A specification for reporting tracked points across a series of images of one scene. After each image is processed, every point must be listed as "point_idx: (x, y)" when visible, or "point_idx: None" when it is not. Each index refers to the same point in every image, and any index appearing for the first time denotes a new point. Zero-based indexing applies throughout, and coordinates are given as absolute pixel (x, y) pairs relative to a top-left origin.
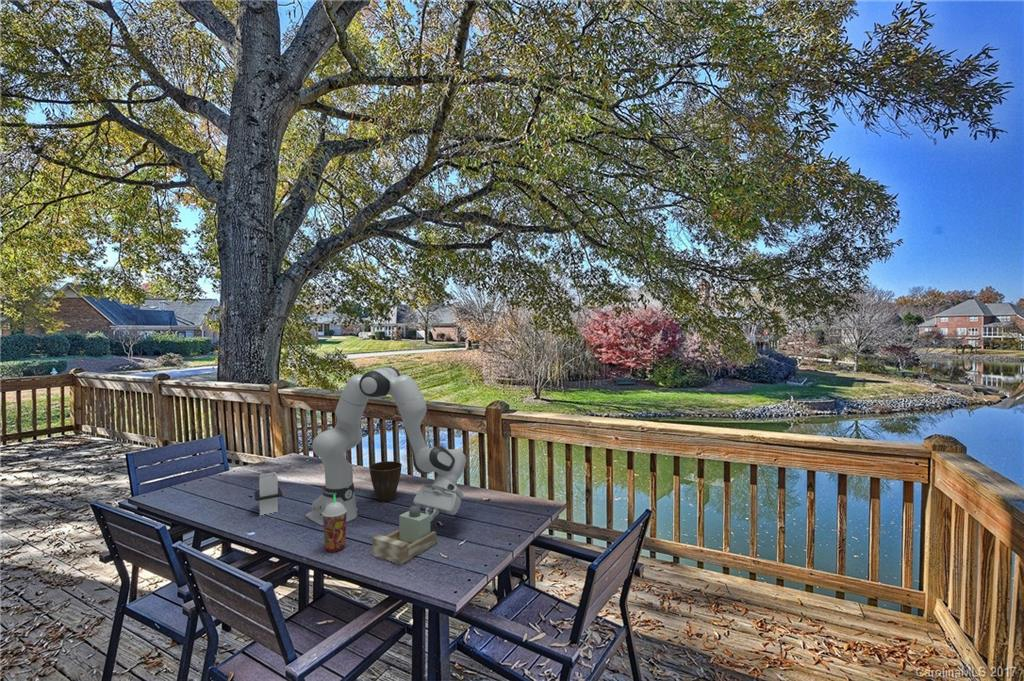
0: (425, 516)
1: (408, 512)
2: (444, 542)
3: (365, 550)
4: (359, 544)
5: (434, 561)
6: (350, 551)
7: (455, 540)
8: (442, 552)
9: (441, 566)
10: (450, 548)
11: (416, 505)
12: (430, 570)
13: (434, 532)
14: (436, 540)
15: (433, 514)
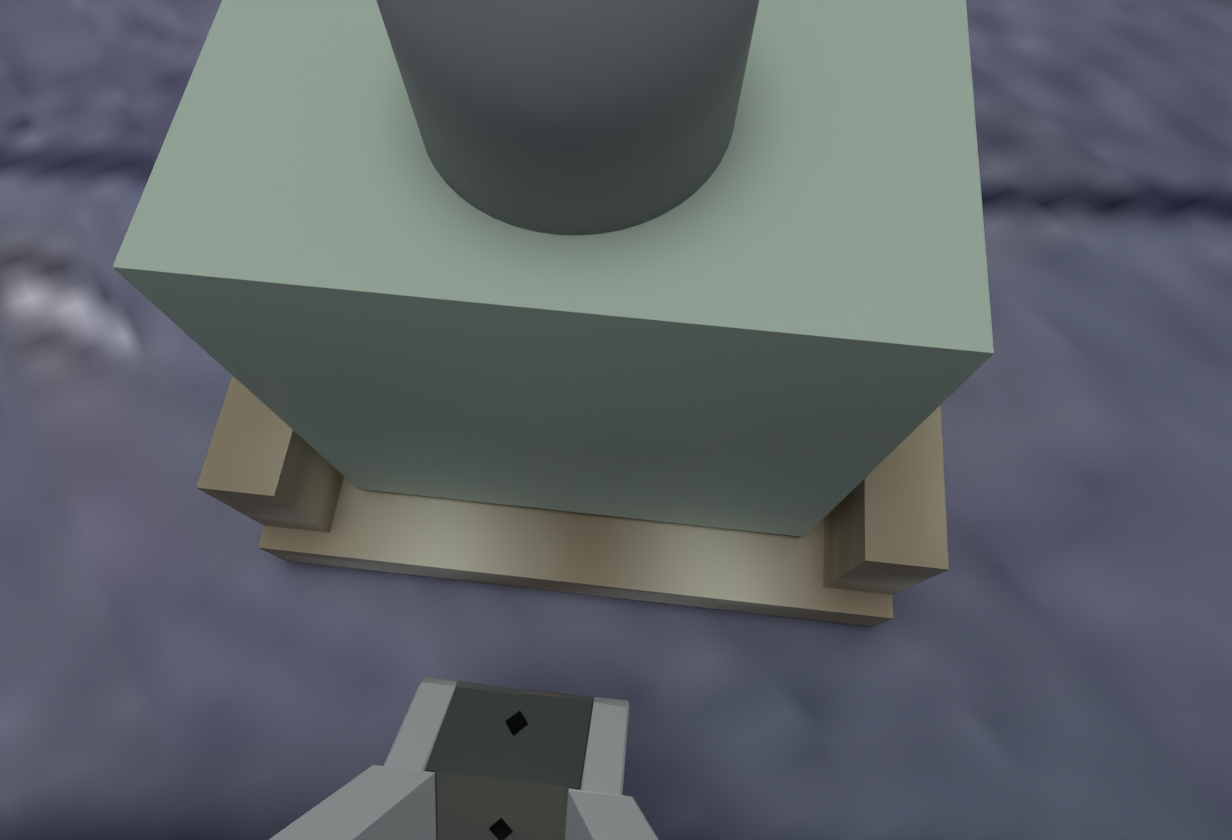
0: (226, 148)
1: (896, 189)
2: (185, 634)
3: (1031, 78)
4: (1229, 150)
5: (125, 158)
6: (1151, 13)
7: (19, 781)
8: (104, 360)
9: (6, 107)
10: (25, 498)
11: (624, 8)
12: (99, 18)
13: (223, 453)
14: (269, 530)
15: (330, 816)
